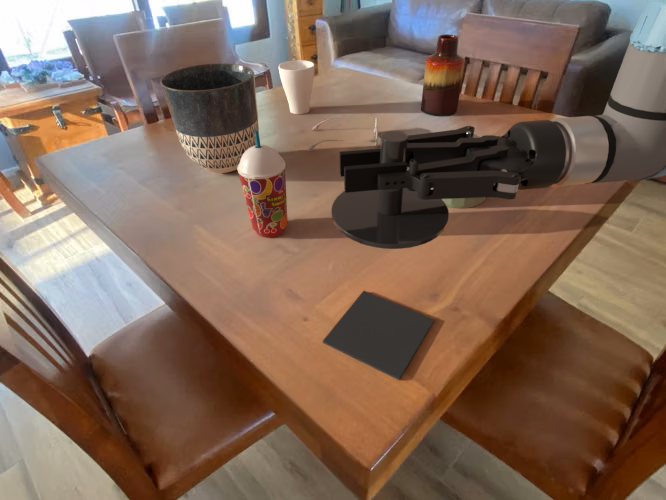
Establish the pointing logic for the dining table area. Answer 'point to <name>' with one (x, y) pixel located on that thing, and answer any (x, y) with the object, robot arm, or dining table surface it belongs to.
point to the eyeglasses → (342, 140)
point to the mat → (380, 333)
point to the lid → (390, 209)
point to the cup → (297, 84)
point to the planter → (213, 112)
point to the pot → (463, 202)
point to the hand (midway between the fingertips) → (342, 171)
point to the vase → (443, 78)
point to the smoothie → (264, 188)
